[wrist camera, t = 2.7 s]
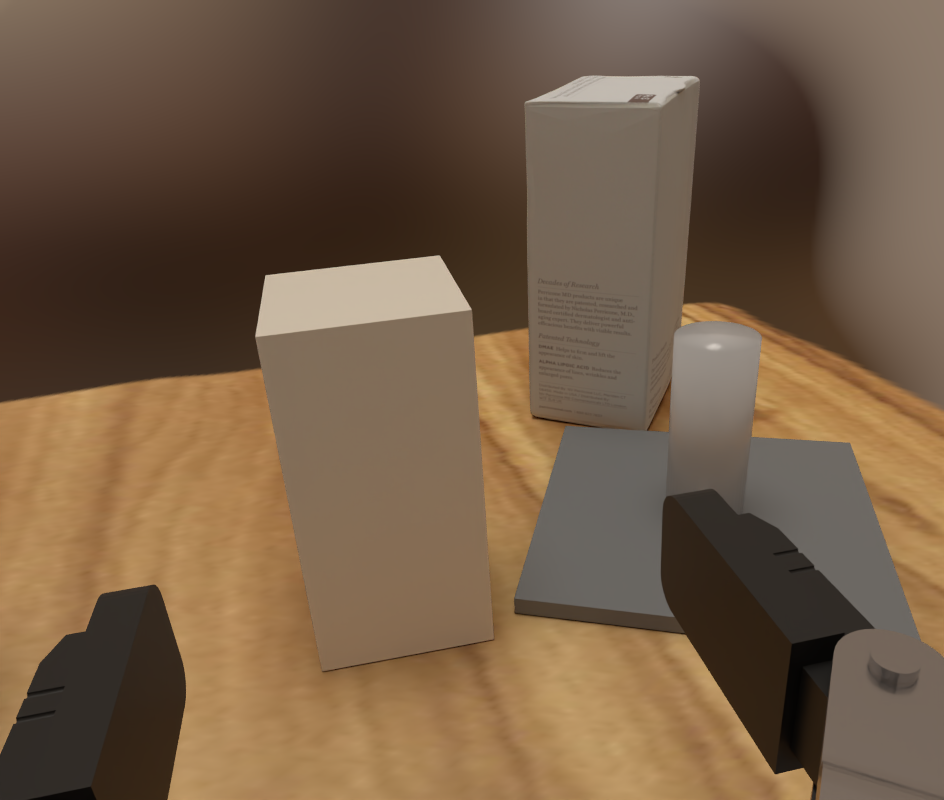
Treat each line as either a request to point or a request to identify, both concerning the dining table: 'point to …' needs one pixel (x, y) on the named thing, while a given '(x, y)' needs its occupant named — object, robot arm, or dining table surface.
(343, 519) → the tall blank white box
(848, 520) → the post base
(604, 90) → the skincare box
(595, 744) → the dining table surface
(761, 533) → the robot arm
